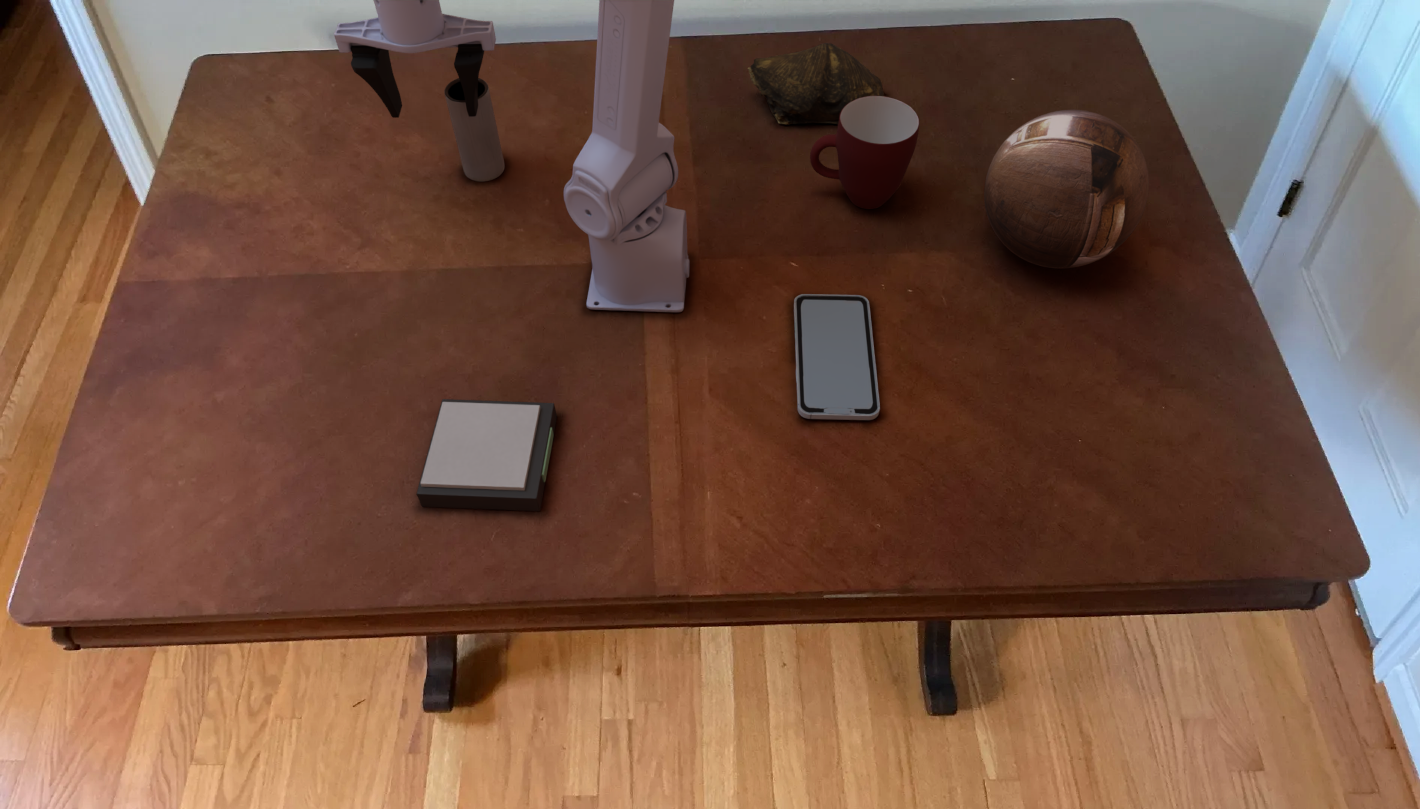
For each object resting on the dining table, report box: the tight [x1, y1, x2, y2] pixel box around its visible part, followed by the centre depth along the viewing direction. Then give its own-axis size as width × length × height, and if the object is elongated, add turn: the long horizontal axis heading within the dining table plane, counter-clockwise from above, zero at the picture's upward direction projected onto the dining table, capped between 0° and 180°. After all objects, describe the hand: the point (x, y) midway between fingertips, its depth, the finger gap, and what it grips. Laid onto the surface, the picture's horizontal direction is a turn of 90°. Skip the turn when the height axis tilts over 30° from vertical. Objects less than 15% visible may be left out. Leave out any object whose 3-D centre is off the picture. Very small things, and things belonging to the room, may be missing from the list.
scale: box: [416, 398, 558, 512], centre depth 85 cm, size 10×10×2 cm
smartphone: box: [793, 293, 881, 421], centre depth 93 cm, size 7×1×15 cm
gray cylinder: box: [443, 77, 506, 182], centre depth 107 cm, size 4×4×10 cm
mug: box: [809, 95, 921, 210], centre depth 104 cm, size 11×8×10 cm
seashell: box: [746, 42, 885, 126], centre depth 115 cm, size 16×9×7 cm, turn 91°
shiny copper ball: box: [983, 109, 1150, 269], centre depth 97 cm, size 15×15×15 cm
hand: (435, 111), depth 100 cm, fingers open, 7 cm apart
